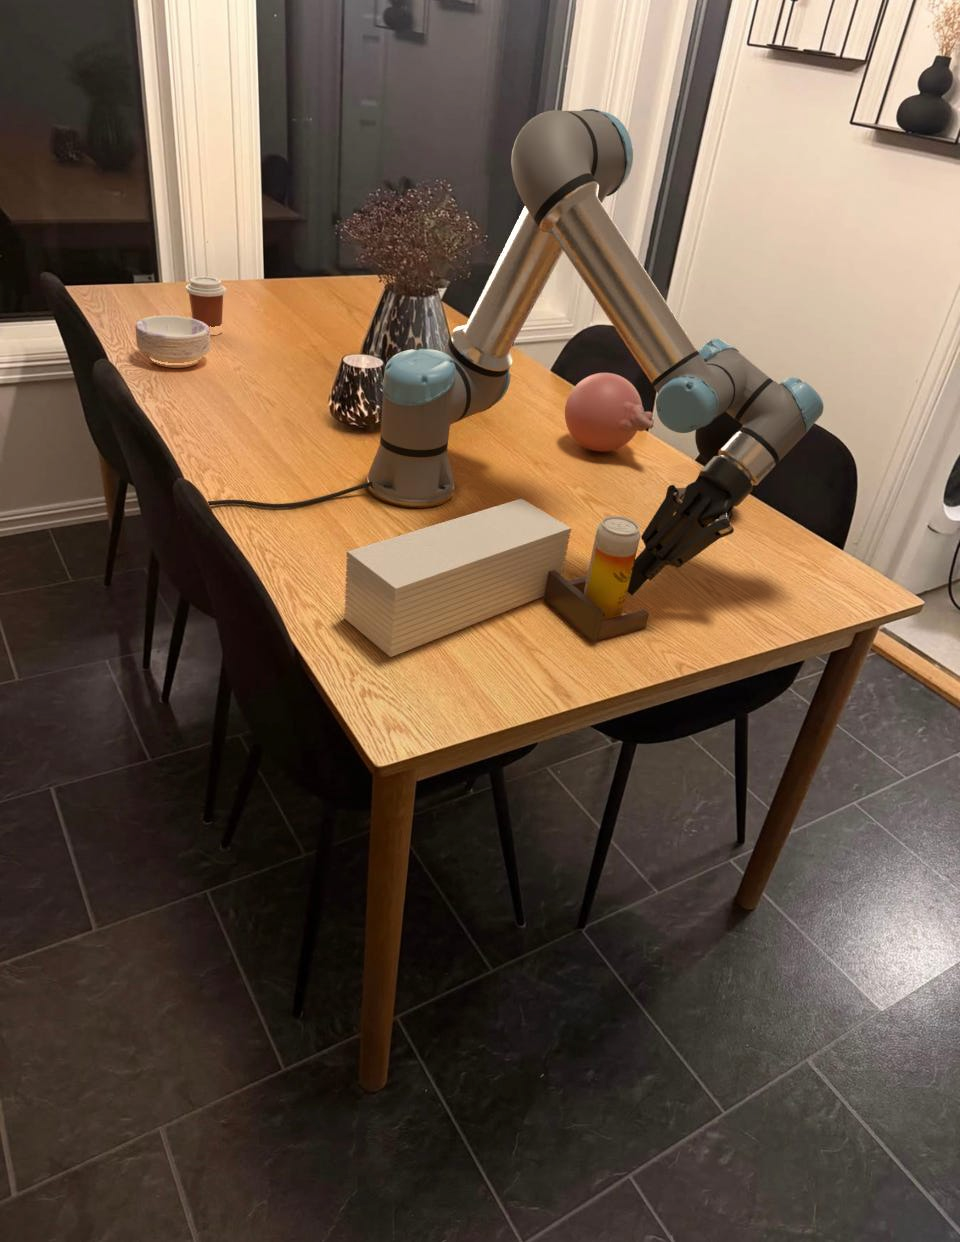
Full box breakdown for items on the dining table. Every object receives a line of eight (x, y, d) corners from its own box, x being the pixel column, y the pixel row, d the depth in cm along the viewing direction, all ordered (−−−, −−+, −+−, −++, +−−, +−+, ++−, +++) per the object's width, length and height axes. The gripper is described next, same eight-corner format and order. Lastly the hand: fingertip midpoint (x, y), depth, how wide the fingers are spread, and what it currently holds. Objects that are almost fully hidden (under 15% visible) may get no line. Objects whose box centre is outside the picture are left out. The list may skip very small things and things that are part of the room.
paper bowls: (226, 363, 205) (224, 327, 200) (172, 378, 194) (170, 341, 189) (177, 345, 211) (174, 310, 206) (123, 359, 200) (119, 322, 195)
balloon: (612, 479, 176) (629, 402, 168) (543, 440, 189) (555, 367, 180) (666, 465, 185) (684, 391, 177) (596, 428, 197) (610, 358, 189)
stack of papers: (512, 559, 147) (521, 498, 141) (559, 590, 140) (571, 527, 134) (344, 618, 127) (346, 551, 122) (390, 657, 121) (395, 588, 115)
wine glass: (735, 504, 173) (765, 403, 162) (729, 527, 165) (761, 422, 154) (681, 491, 176) (707, 390, 165) (672, 513, 167) (699, 408, 156)
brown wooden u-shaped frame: (597, 586, 142) (603, 558, 140) (646, 627, 134) (653, 598, 132) (543, 599, 138) (548, 571, 135) (590, 642, 130) (597, 613, 127)
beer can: (622, 628, 133) (644, 538, 125) (580, 623, 133) (599, 532, 125) (619, 606, 138) (640, 517, 130) (579, 601, 138) (597, 512, 130)
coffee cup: (222, 339, 217) (220, 287, 211) (183, 335, 217) (180, 282, 210) (231, 328, 225) (229, 277, 218) (193, 324, 224) (190, 273, 218)
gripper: (775, 503, 134) (663, 623, 135) (713, 467, 143) (608, 579, 144) (759, 475, 128) (643, 600, 129) (696, 439, 137) (587, 556, 138)
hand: (625, 589), depth 136 cm, fingers closed
